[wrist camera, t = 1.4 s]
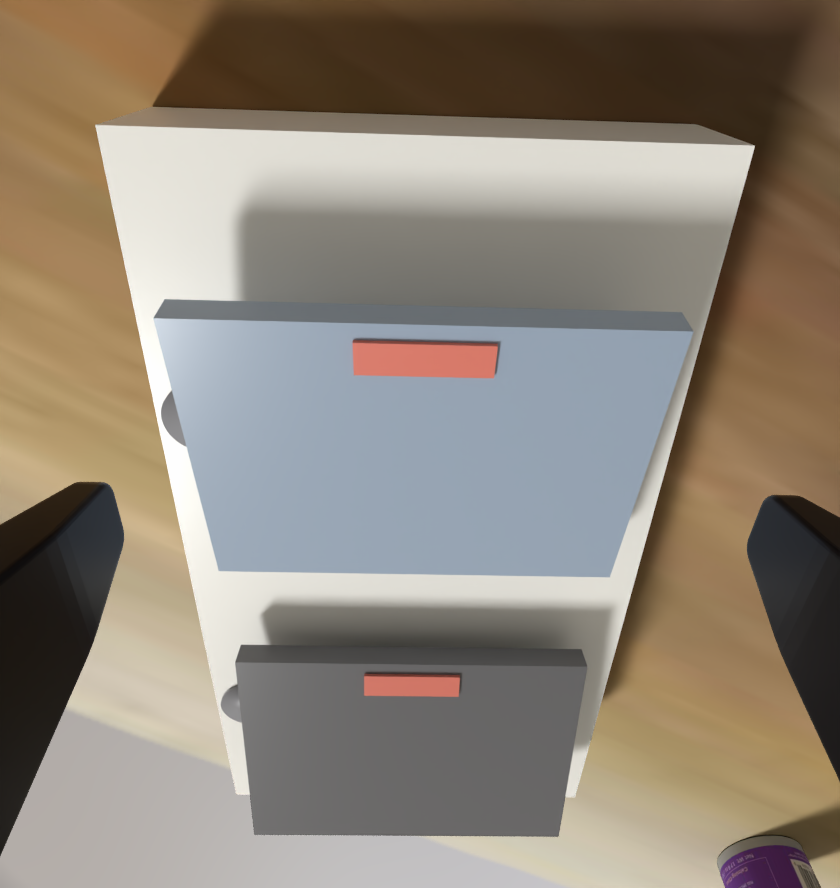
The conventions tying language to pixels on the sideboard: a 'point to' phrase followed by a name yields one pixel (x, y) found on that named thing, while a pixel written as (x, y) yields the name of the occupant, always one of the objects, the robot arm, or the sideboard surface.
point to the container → (766, 864)
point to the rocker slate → (418, 432)
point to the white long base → (423, 284)
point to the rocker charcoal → (408, 738)
